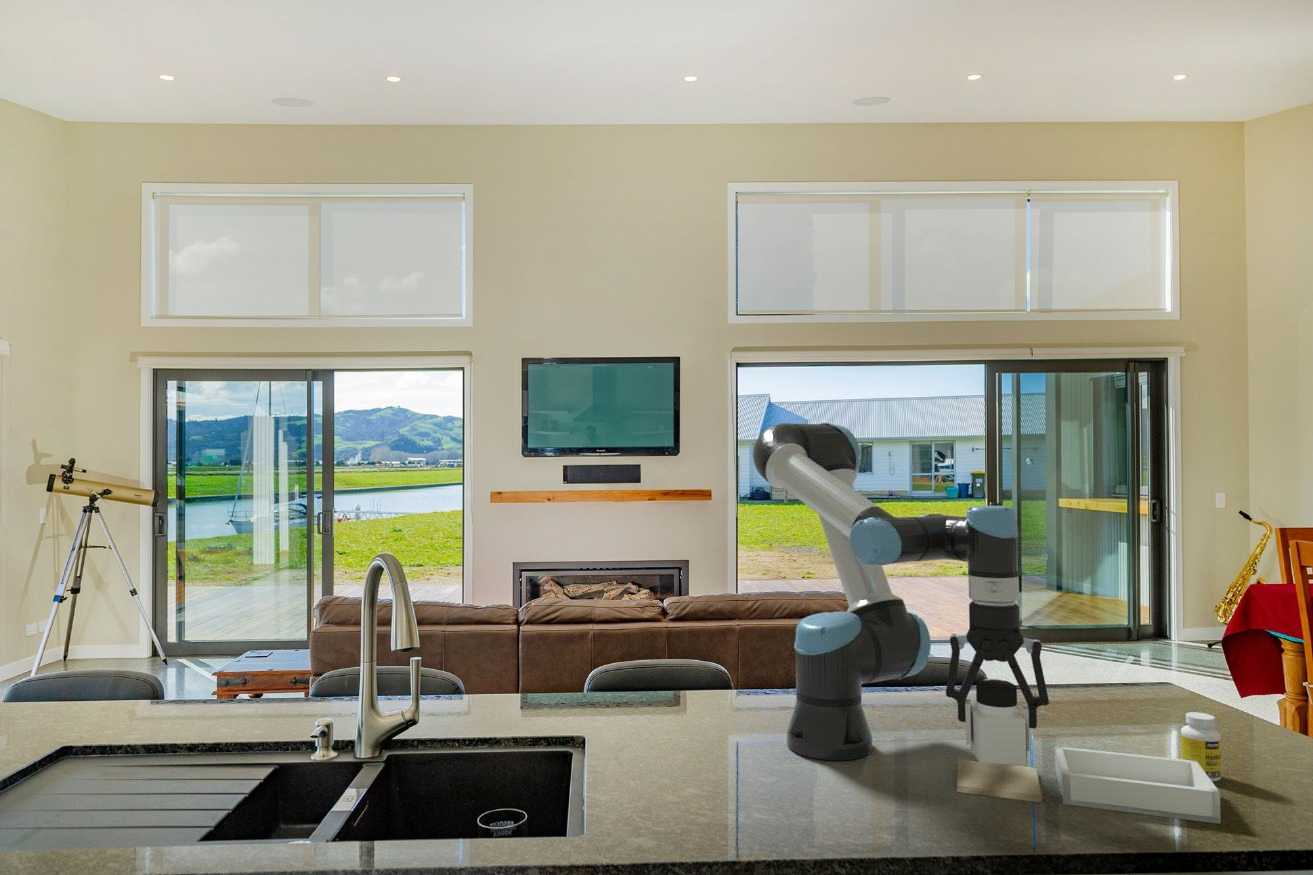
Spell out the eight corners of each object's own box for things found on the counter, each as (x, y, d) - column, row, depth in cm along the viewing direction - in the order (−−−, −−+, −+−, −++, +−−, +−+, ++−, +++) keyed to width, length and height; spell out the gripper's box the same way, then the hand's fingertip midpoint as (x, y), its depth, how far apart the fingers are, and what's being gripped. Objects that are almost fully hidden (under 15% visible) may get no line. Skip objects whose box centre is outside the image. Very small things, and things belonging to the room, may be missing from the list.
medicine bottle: (1027, 766, 128) (1026, 688, 128) (979, 764, 129) (977, 686, 129) (1015, 750, 135) (1013, 676, 135) (969, 748, 136) (967, 675, 136)
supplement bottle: (1209, 785, 130) (1207, 722, 131) (1174, 773, 135) (1172, 713, 135) (1228, 778, 133) (1227, 717, 133) (1193, 767, 138) (1192, 708, 138)
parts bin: (1063, 803, 124) (1062, 774, 124) (1055, 773, 136) (1054, 746, 136) (1220, 823, 117) (1219, 792, 117) (1197, 789, 129) (1196, 760, 129)
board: (957, 791, 129) (957, 785, 129) (958, 765, 140) (958, 759, 140) (1041, 802, 124) (1041, 795, 124) (1036, 774, 136) (1036, 767, 136)
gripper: (925, 602, 133) (928, 745, 132) (1067, 609, 126) (1071, 760, 125) (927, 595, 140) (930, 730, 139) (1062, 601, 133) (1066, 744, 132)
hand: (997, 744), depth 132 cm, fingers closed on medicine bottle, 8 cm apart
